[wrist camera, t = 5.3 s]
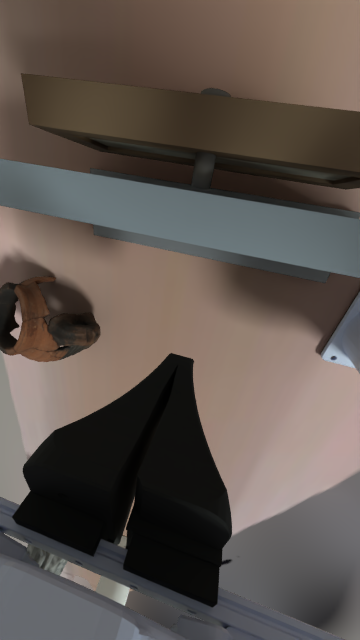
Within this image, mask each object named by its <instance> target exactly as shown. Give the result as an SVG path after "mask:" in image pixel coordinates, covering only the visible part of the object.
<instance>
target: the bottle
mask: <svg viewBox="0 0 360 640" xmlns="http://www.w3.org/2000/svg"><path fill="white" fill-rule="evenodd" d="M126 542H127V537H125V536H122V538H121V541H120V543H119V544H118V546H120V547H122V548H126ZM129 589H130V588H129V587H126V586H124V585H122V584H119V583H117V582H115V581H113V580H110V579H108V578H106V577H103V576H101V577H100V580H99V583H98V586H97V588H96V591H95V592H97V593H99V594H101V595H103V596H105V597H108V598H110V599H112V600H114V601H116V602H118V603H120V604H122V605H124V606H125V603H126V600H127V596H128V593H129Z"/></svg>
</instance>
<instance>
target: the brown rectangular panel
mask: <svg viewBox="0 0 360 640" xmlns="http://www.w3.org/2000/svg"><path fill="white" fill-rule="evenodd" d="M21 76H22V82H23V88H24V95H25V101H26V107H27V113H28V120H29V124H30V125H32V126H35V127H38V128H40V129H43V130H45V131H48V132H51V133H53V134H56V135H59V136H61V137H64V138H67V139H69V140H72V141H74V142H77V143H80V144H82V145H85V146H88V147H90V148H93V149H96V150H98V151H101V152H108V153H114V154H121V155H127V156H133V157H140V158H146V159H153V160H159V161H166V162H172V163H179V164H185V165H192V166H194V171H193V177H192V184H191V187H195V188H201V189H207V190H210V186H211V180H212V175H213V170H214V169H217V170H224V171H230V172H237V173H243V174H250V175H256V176H263V177H269V178H276V179H282V180H289V181H295V182H301V183H308V184H314V185H321V186H327V187H334V188H340V189H353V188H360V112H357V111H348V110H339V109H330V108H322V107H313V106H304V105H295V104H286V103H278V102H269V101H260V100H251V99H242V98H234V97H231V96H230V94H229V93H227V92H225V91H223V90H220V89H214V88H209V89H204V90H202V92H201V94H198V93H190V92H181V91H172V90H163V89H154V88H146V87H137V86H128V85H119V84H111V83H102V82H93V81H84V80H75V79H67V78H58V77H49V76H40V75H31V74H23V73H21Z"/></svg>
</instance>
